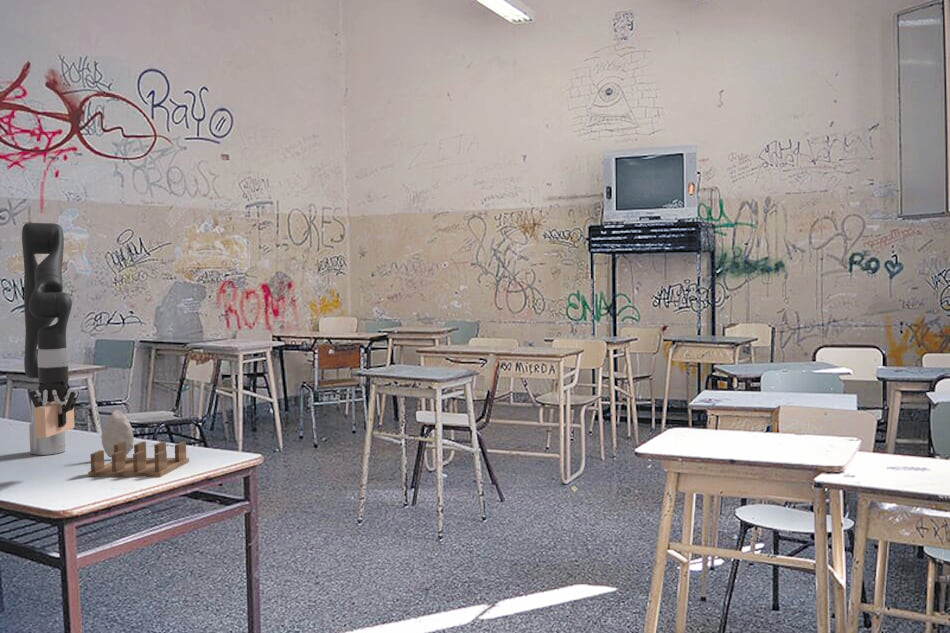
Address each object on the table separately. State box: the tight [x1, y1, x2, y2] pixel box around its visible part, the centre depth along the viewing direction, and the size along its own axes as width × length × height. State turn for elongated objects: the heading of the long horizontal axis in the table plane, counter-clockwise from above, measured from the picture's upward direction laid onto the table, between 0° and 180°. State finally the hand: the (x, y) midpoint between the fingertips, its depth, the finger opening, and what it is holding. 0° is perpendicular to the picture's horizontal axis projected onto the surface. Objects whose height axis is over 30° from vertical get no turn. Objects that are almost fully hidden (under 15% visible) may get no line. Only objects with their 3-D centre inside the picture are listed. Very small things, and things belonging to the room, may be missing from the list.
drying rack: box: [87, 441, 190, 478], centre depth 250 cm, size 21×19×6 cm
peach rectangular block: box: [34, 399, 75, 438], centre depth 239 cm, size 3×14×8 cm, turn 175°
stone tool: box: [100, 409, 135, 459], centre depth 265 cm, size 9×3×15 cm, turn 123°
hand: (55, 426), depth 239 cm, fingers closed on peach rectangular block, 3 cm apart
